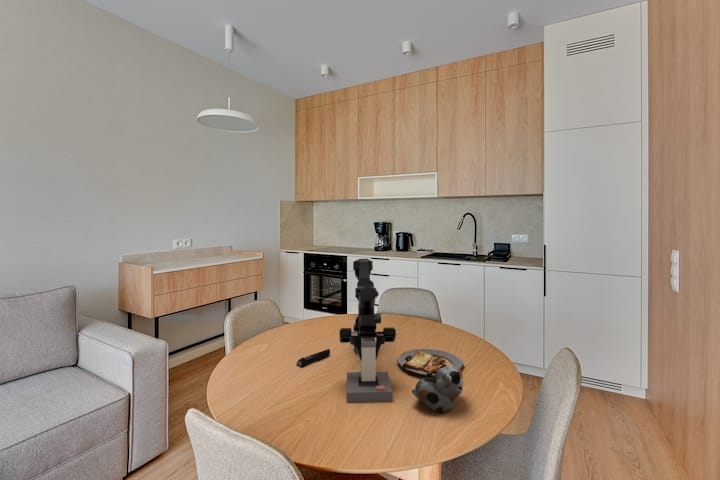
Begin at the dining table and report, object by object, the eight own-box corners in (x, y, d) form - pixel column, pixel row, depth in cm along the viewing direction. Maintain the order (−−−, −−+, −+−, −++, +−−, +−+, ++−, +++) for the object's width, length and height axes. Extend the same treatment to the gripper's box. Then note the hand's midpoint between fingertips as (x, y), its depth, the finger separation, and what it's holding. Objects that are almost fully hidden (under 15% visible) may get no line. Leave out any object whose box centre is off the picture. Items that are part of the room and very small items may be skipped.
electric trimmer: (332, 357, 139) (332, 349, 139) (301, 368, 128) (301, 360, 128) (326, 354, 142) (326, 347, 142) (295, 366, 131) (295, 357, 131)
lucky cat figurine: (422, 387, 113) (442, 351, 113) (453, 412, 107) (475, 374, 106) (404, 393, 101) (427, 353, 100) (439, 422, 94) (464, 379, 94)
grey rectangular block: (361, 374, 113) (361, 338, 112) (374, 374, 113) (374, 337, 113) (361, 381, 109) (361, 342, 108) (375, 380, 109) (375, 342, 108)
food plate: (449, 386, 114) (449, 376, 113) (387, 371, 126) (387, 361, 126) (469, 362, 135) (469, 353, 135) (414, 351, 147) (414, 342, 147)
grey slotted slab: (346, 380, 118) (346, 370, 118) (387, 380, 119) (387, 369, 118) (346, 402, 104) (346, 390, 104) (392, 401, 105) (392, 390, 104)
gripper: (339, 304, 113) (338, 349, 103) (395, 304, 114) (400, 348, 104) (340, 320, 122) (339, 364, 111) (392, 320, 122) (396, 363, 112)
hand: (368, 359), depth 109 cm, fingers closed on grey rectangular block, 4 cm apart
